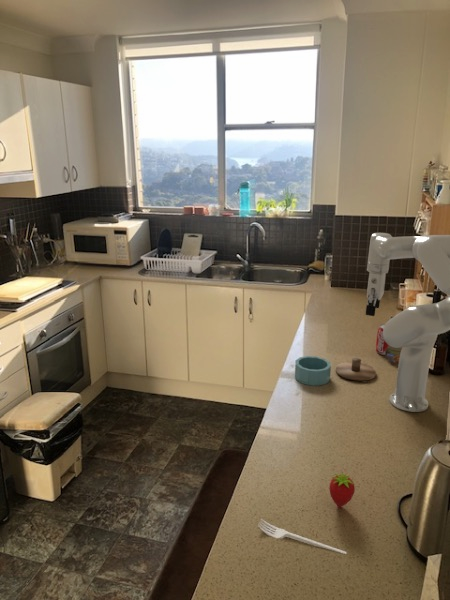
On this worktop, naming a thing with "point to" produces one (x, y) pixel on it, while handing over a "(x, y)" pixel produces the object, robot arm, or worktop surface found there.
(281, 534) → the fork
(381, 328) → the soda can
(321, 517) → the worktop surface
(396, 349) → the tin
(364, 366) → the walnut lid
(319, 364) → the teal bowl
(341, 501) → the strawberry
